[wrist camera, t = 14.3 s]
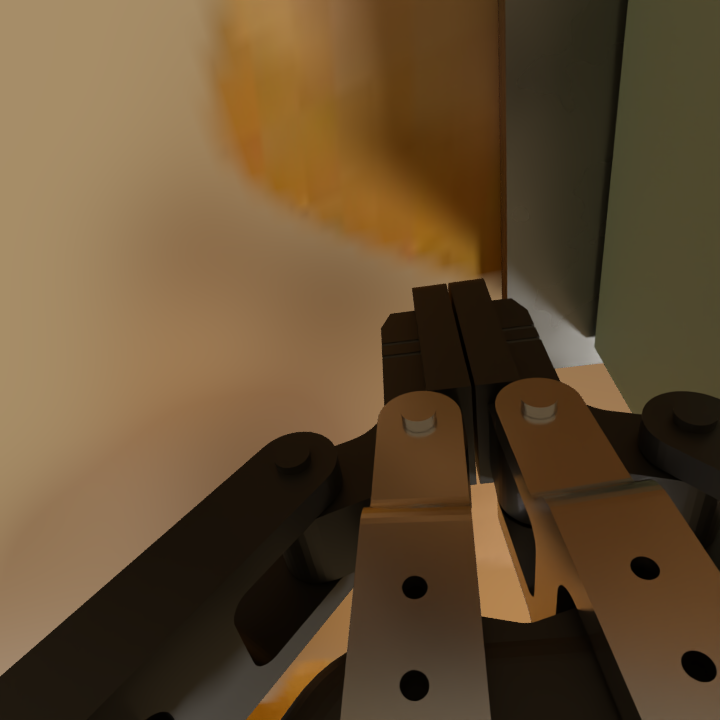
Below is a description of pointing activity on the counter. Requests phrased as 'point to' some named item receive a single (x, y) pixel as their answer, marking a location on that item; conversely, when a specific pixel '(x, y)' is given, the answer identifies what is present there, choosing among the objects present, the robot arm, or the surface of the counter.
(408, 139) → the counter surface
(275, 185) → the counter surface
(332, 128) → the counter surface
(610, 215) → the sliding jaw
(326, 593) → the robot arm
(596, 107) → the vise
